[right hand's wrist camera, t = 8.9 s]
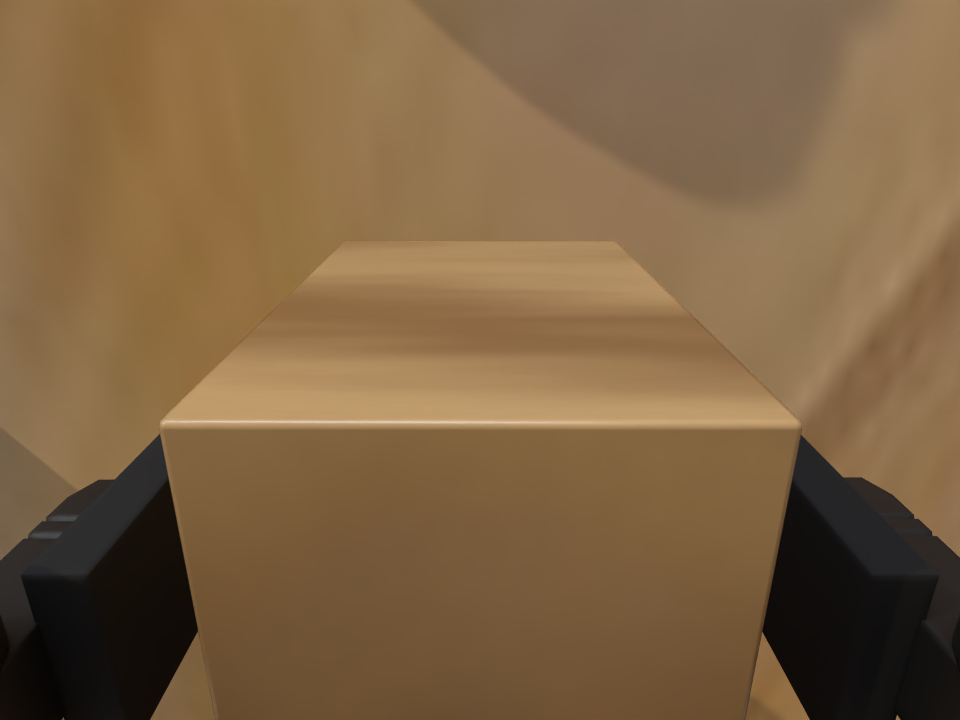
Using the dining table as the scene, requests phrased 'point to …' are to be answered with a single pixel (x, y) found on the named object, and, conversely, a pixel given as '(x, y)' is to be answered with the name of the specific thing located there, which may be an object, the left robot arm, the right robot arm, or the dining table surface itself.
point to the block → (480, 494)
